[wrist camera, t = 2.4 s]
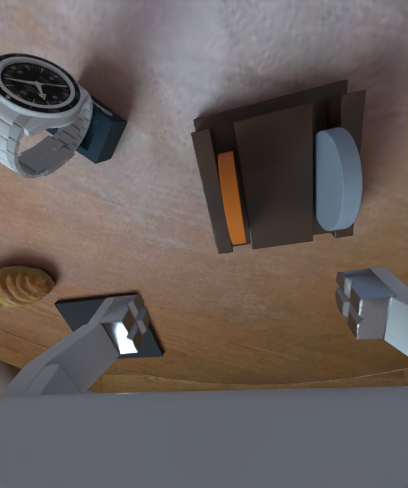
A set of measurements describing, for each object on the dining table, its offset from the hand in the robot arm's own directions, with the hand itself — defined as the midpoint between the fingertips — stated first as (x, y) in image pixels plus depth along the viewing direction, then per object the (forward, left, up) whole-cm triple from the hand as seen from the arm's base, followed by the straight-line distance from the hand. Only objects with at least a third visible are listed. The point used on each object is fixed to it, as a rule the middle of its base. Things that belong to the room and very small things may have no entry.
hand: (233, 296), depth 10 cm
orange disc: (0, 0, -12) cm, 12 cm away
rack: (0, +4, -17) cm, 18 cm away
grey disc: (0, +8, -12) cm, 15 cm away
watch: (-9, -13, -18) cm, 23 cm away
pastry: (+8, -33, -18) cm, 38 cm away
